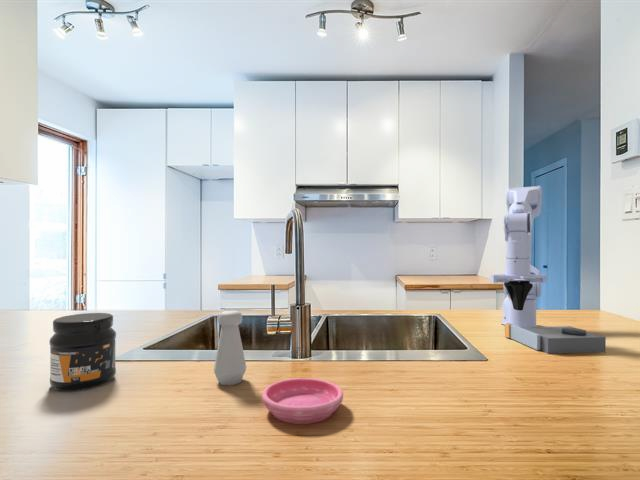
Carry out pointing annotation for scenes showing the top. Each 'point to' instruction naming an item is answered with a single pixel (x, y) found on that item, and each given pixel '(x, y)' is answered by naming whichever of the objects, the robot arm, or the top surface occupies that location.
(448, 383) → the top surface
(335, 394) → the pink shallow bowl
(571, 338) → the grey flat block
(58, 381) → the supplement container
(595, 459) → the top surface
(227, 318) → the salt shaker
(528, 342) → the side door
